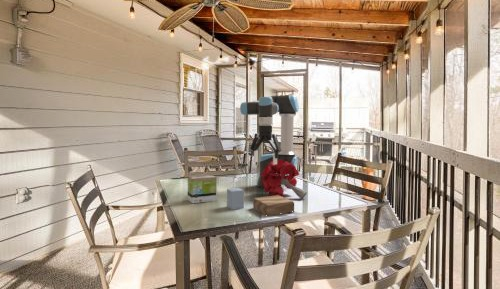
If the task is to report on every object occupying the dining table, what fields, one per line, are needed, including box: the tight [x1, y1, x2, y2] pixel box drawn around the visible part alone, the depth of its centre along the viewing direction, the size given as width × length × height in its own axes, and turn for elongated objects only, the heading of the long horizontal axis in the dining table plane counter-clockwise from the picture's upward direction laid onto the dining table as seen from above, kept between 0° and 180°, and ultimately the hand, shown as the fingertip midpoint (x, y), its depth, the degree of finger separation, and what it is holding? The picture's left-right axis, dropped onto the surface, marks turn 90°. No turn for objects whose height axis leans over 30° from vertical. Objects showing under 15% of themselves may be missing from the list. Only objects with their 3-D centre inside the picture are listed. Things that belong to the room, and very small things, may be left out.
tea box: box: [187, 174, 217, 204], centre depth 187 cm, size 15×10×15 cm, turn 117°
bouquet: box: [261, 160, 308, 200], centre depth 196 cm, size 22×24×30 cm
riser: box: [252, 195, 295, 217], centre depth 168 cm, size 16×16×6 cm
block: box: [226, 187, 245, 211], centre depth 173 cm, size 7×7×10 cm
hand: (265, 163), depth 176 cm, fingers open, 13 cm apart
